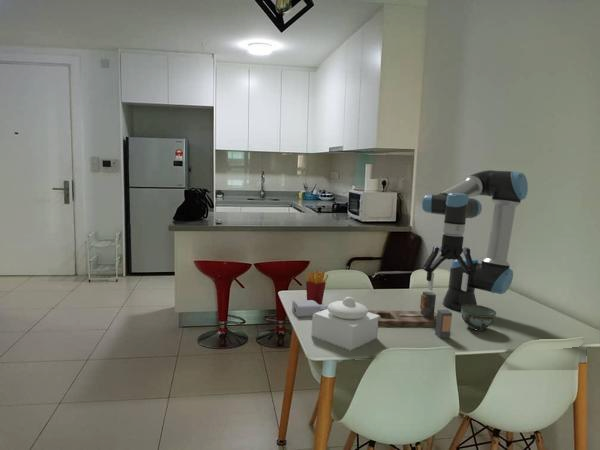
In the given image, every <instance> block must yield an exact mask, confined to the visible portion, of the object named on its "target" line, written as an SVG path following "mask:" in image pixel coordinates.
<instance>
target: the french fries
mask: <svg viewBox="0 0 600 450" xmlns="http://www.w3.org/2000/svg"><path fill="white" fill-rule="evenodd" d="M328 278H329V274H326V276H325V271H323V270H322V271H318V270H315V271H312V270H311V271H310V272H306V279H307V280H306V281H305V288H306V289H305V291H306V300H313V301H315V302H316V303H317V304H323V300H324V299H323V298H324V293H325V288H326V282H327V280H328Z"/></svg>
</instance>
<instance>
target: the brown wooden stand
mask: <svg viewBox="0 0 600 450" xmlns="http://www.w3.org/2000/svg"><path fill="white" fill-rule="evenodd" d="M436 298H437V295H436V294H435V293H434V292H433V291H423V292H422V294H421V295H420V305H419V309H420V310H373V309H372V310H369V309H368V312H370V313H373V314H376V315H380V318H379V321H378V327H436V320H437V312H436V311H435V308H436Z"/></svg>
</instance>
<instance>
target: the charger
mask: <svg viewBox="0 0 600 450" xmlns="http://www.w3.org/2000/svg"><path fill="white" fill-rule="evenodd" d="M291 305H292V307H291V310H292V311H293V313H294V314H295V316H296V317H297V318H299V317H300V318H301V317H304V318H305V317H313V315H314V313H317V312H320V311H323V310H326V309H327V307H328V305H325V304H323V303H321V304H317V303H316V302H315V301H313V300H307V299H305V300H304V299H303V300H300V299H299V300H292V304H291Z"/></svg>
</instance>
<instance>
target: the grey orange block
mask: <svg viewBox="0 0 600 450" xmlns="http://www.w3.org/2000/svg"><path fill="white" fill-rule="evenodd" d="M436 313H437V320H436V326H435V332H434V335H435V336H436V337H437V338H438V339H450V335H451V327H452V316H453V313H452V312H451V311H450V310H449V309H437V312H436Z"/></svg>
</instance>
